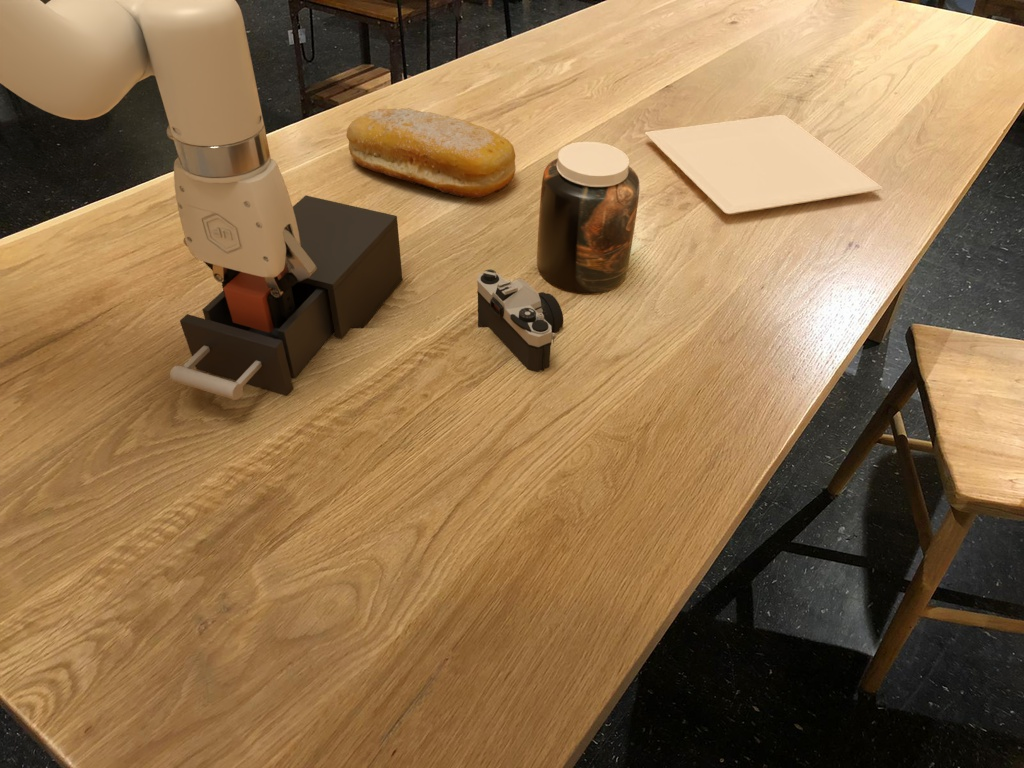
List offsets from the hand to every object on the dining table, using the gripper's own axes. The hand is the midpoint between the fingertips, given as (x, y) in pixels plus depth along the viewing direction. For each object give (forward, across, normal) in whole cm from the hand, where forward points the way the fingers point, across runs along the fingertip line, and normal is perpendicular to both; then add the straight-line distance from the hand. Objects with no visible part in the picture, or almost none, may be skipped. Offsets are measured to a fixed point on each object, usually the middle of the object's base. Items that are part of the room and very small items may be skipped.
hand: (263, 312), depth 78 cm
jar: (+7, +26, +30) cm, 40 cm away
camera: (+7, +24, +13) cm, 29 cm away
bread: (+7, -2, +45) cm, 46 cm away
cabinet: (+7, 0, +11) cm, 13 cm away
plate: (+6, +43, +66) cm, 79 cm away
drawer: (+6, 0, -2) cm, 6 cm away
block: (0, 0, 0) cm, 0 cm away
